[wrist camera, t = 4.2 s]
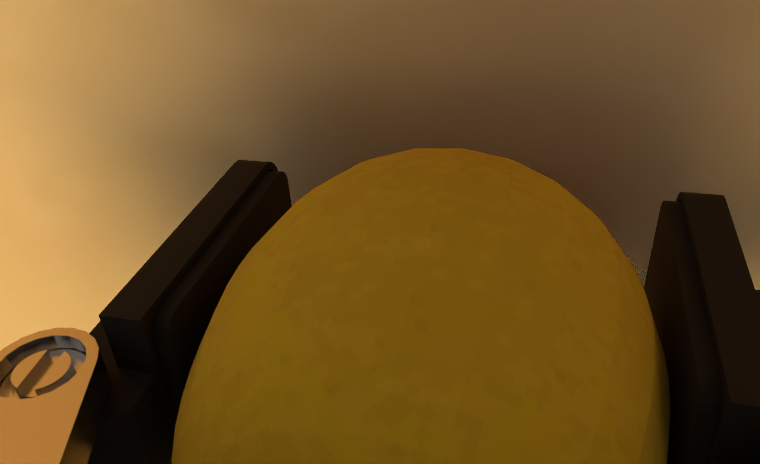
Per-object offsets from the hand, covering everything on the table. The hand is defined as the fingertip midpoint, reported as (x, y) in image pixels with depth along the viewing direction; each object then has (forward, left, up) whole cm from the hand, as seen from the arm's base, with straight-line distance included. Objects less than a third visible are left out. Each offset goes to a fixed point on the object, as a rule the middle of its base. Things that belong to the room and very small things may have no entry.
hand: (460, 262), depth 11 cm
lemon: (0, 0, -1) cm, 1 cm away
